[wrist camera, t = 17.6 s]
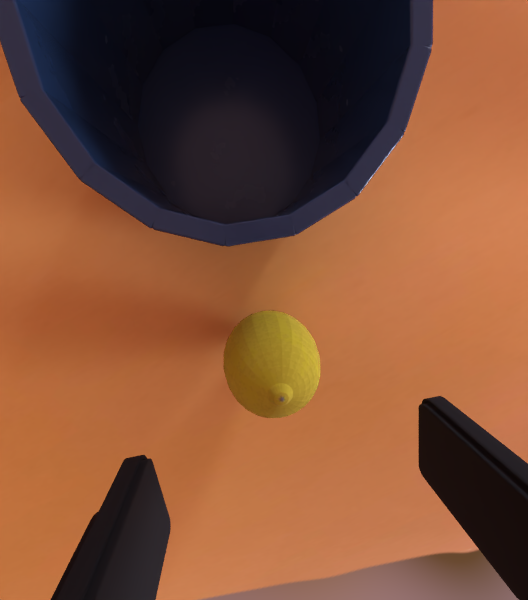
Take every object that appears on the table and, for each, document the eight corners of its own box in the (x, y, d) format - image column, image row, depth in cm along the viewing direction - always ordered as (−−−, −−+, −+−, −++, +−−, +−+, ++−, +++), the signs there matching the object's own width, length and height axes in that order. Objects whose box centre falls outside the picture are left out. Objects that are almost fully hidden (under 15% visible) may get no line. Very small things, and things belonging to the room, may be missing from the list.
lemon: (311, 350, 21) (356, 422, 13) (244, 379, 21) (249, 468, 13) (284, 284, 19) (317, 322, 11) (212, 316, 19) (197, 374, 11)
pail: (85, 92, 15) (-143, -117, 6) (264, -31, 15) (312, -464, 5) (206, 270, 18) (176, 310, 9) (357, 174, 18) (486, 116, 9)
